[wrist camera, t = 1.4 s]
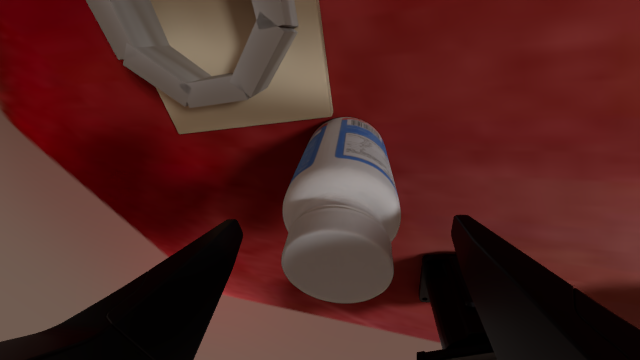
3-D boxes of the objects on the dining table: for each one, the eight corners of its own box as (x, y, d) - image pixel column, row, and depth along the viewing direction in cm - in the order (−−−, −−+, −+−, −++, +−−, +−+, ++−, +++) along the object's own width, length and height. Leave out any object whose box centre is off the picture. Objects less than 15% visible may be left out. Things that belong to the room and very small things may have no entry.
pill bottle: (322, 190, 18) (292, 316, 10) (297, 128, 16) (228, 229, 8) (393, 175, 17) (424, 312, 8) (376, 103, 14) (398, 198, 6)
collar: (333, 111, 15) (326, 130, 12) (188, 129, 17) (152, 148, 14) (286, -253, 8) (243, -416, 5) (58, -144, 10) (-59, -212, 8)
